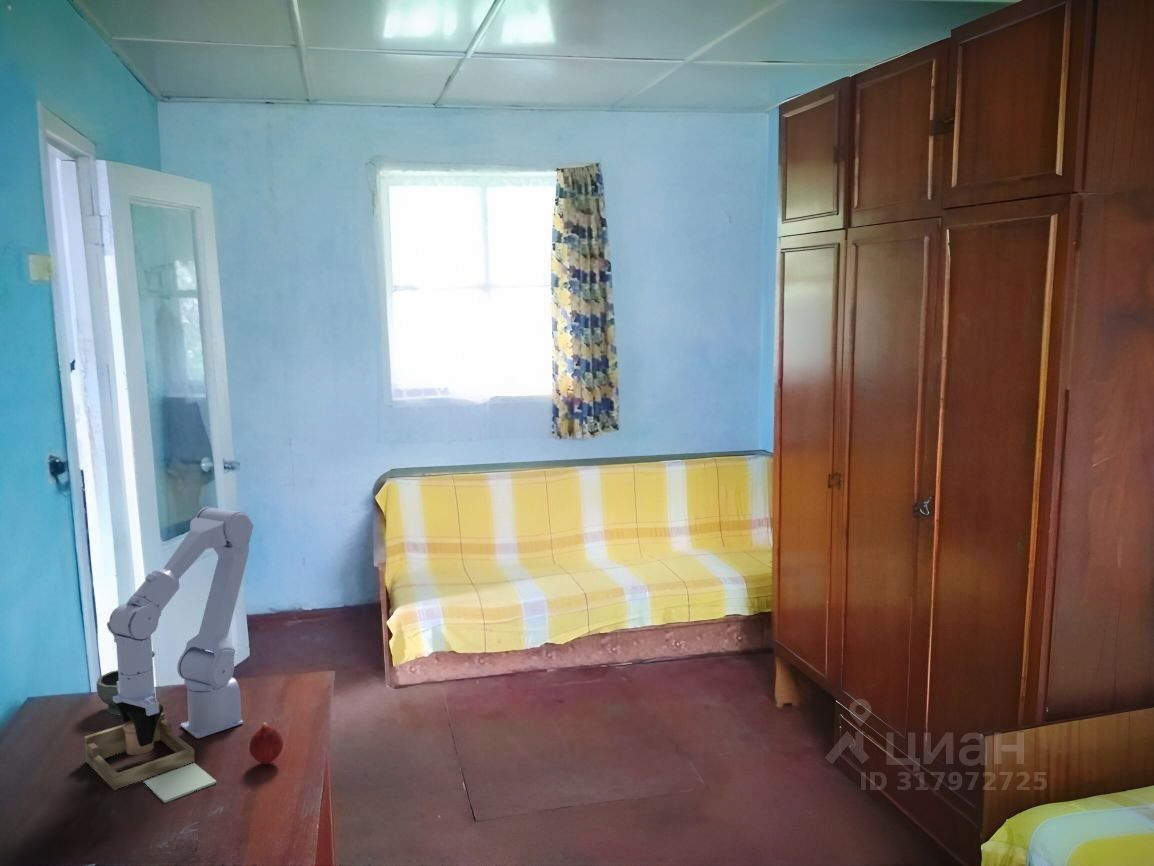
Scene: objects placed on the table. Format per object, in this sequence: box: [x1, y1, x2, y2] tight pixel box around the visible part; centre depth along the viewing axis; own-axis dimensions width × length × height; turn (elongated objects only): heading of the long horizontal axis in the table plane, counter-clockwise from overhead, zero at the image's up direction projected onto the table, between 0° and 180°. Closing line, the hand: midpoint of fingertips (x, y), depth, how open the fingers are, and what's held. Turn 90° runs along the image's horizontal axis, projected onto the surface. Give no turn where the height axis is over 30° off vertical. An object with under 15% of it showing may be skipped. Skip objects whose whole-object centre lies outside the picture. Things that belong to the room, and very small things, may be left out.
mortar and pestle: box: [95, 650, 156, 716], centre depth 184 cm, size 11×9×12 cm
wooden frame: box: [84, 711, 196, 791], centre depth 162 cm, size 14×14×5 cm
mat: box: [143, 762, 217, 804], centre depth 155 cm, size 9×9×1 cm
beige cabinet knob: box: [122, 720, 155, 756], centre depth 162 cm, size 5×5×5 cm
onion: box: [249, 721, 284, 765], centre depth 162 cm, size 6×6×8 cm
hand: (140, 739), depth 162 cm, fingers closed on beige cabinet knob, 5 cm apart
